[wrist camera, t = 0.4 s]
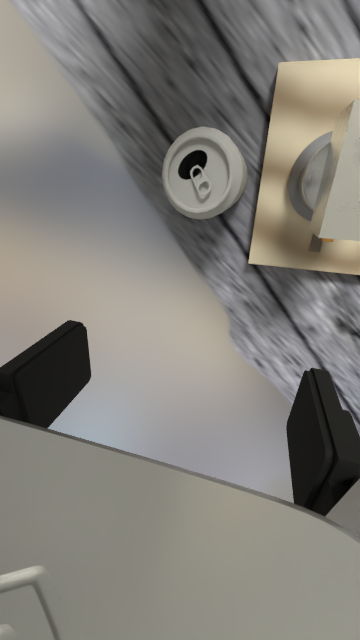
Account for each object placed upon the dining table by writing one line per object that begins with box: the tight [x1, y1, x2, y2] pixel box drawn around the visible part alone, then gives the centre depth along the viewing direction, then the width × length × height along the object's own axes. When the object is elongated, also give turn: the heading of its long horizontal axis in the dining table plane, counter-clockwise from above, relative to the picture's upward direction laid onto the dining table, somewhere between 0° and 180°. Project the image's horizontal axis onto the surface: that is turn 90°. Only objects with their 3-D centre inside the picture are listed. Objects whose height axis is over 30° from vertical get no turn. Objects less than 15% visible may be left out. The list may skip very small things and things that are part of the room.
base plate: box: [248, 58, 360, 275], centre depth 30 cm, size 20×15×2 cm
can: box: [162, 127, 247, 219], centre depth 29 cm, size 8×8×12 cm
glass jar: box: [299, 100, 360, 242], centre depth 24 cm, size 10×7×10 cm
